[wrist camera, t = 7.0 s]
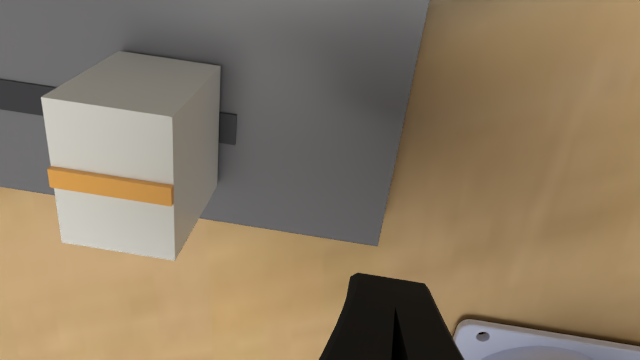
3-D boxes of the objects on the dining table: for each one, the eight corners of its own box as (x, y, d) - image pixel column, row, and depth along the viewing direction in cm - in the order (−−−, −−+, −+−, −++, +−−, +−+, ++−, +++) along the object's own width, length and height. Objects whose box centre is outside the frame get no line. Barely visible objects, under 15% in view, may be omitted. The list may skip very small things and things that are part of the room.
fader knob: (220, 65, 15) (169, 119, 12) (217, 185, 17) (172, 264, 13) (119, 50, 15) (36, 99, 12) (126, 172, 17) (58, 246, 14)
